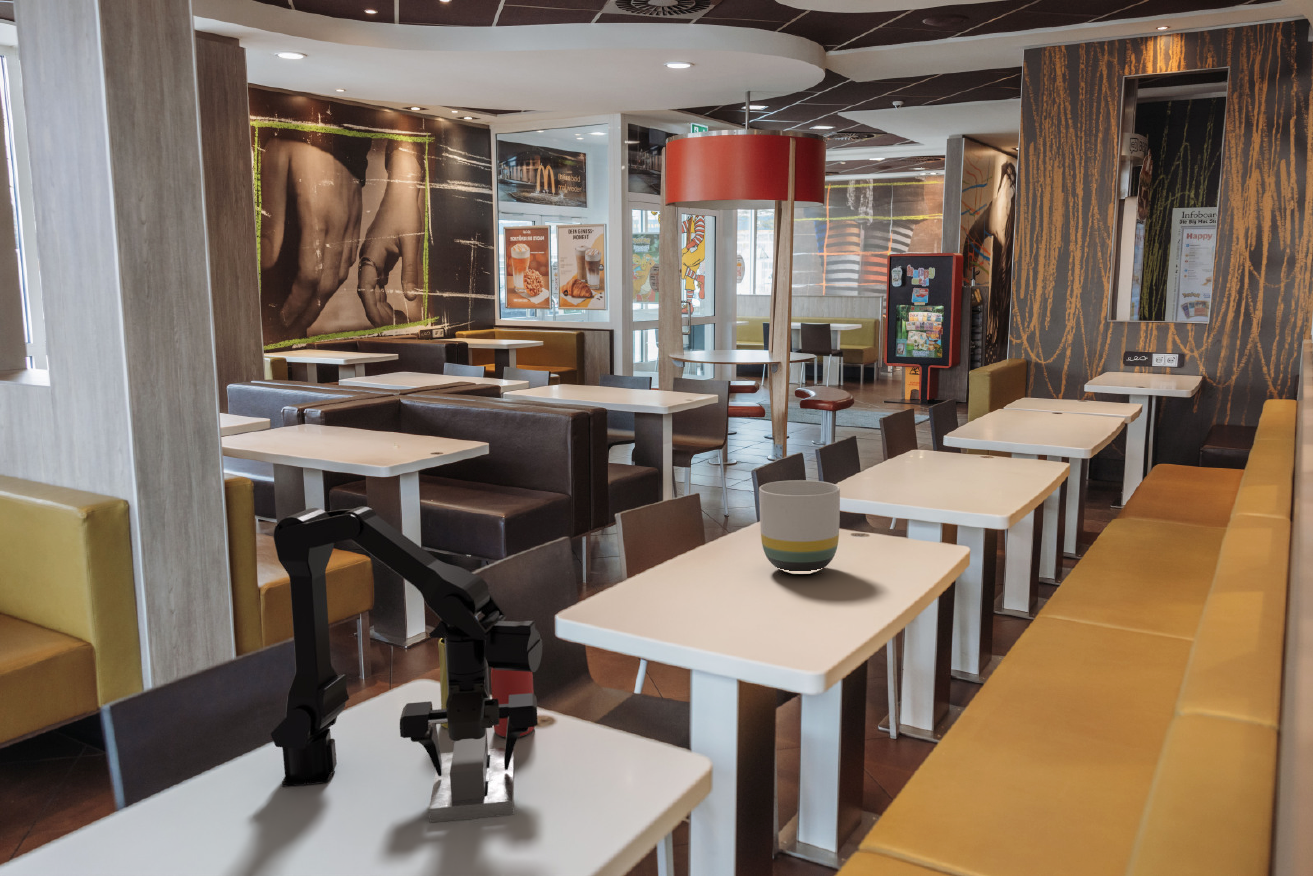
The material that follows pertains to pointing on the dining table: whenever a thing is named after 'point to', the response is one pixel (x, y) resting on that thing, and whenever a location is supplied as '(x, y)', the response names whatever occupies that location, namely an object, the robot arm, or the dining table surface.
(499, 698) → the beer can
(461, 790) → the grey rectangular block
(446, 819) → the mount plate
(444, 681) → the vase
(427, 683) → the dining table surface
